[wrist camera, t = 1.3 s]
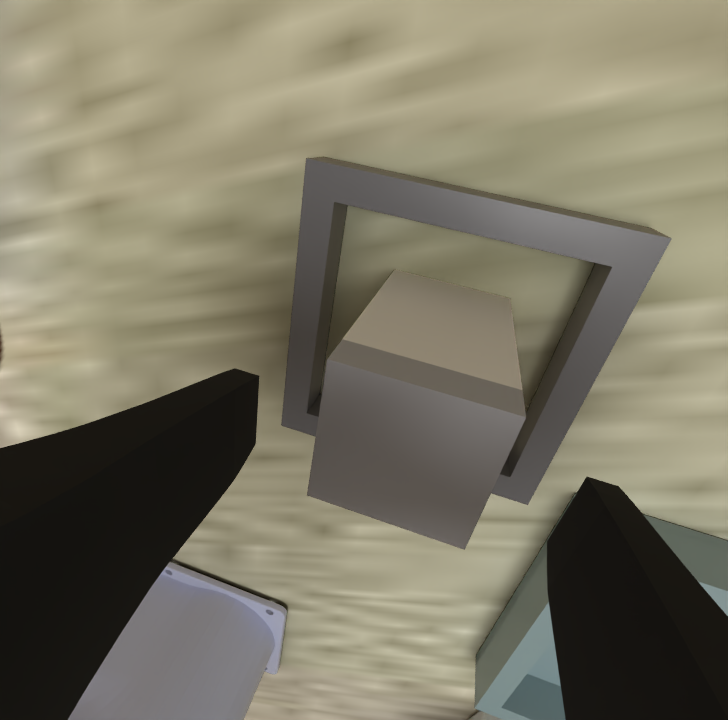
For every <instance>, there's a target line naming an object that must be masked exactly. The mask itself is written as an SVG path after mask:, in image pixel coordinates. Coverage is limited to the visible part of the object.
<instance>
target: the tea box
mask: <svg viewBox="0 0 728 720" xmlns="http://www.w3.org/2000/svg"><path fill="white" fill-rule="evenodd" d="M468 720H502V719H500V718H497V717H495V716H492V715H490V714H487V713H485V712H482V711H479V712H478V713H476V714H475V715H474V716H472V717H471V718H470V719H468Z"/></svg>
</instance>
